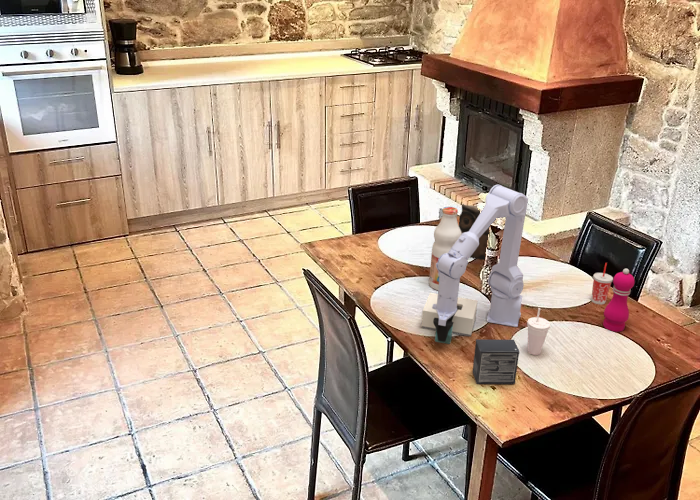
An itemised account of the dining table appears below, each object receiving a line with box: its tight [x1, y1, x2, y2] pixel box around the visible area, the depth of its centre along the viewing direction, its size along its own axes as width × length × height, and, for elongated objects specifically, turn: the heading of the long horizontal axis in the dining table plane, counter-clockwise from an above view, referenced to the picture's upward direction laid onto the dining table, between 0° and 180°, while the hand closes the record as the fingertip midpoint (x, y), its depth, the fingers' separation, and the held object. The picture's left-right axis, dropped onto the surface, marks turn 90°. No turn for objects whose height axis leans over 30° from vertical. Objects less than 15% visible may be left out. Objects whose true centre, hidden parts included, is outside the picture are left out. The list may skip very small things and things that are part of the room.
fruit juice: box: [428, 206, 462, 291], centre depth 226 cm, size 9×9×28 cm
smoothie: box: [526, 307, 551, 356], centre depth 193 cm, size 6×6×14 cm
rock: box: [458, 203, 490, 261], centre depth 251 cm, size 13×13×20 cm
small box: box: [471, 338, 520, 385], centre depth 181 cm, size 11×6×10 cm, turn 92°
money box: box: [420, 292, 479, 337], centre depth 208 cm, size 15×12×6 cm
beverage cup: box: [590, 262, 614, 305], centre depth 222 cm, size 6×6×14 cm
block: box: [434, 325, 453, 345], centre depth 198 cm, size 4×2×6 cm, turn 73°
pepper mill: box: [602, 268, 635, 333], centre depth 206 cm, size 7×7×20 cm
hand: (443, 334), depth 198 cm, fingers open, 6 cm apart
